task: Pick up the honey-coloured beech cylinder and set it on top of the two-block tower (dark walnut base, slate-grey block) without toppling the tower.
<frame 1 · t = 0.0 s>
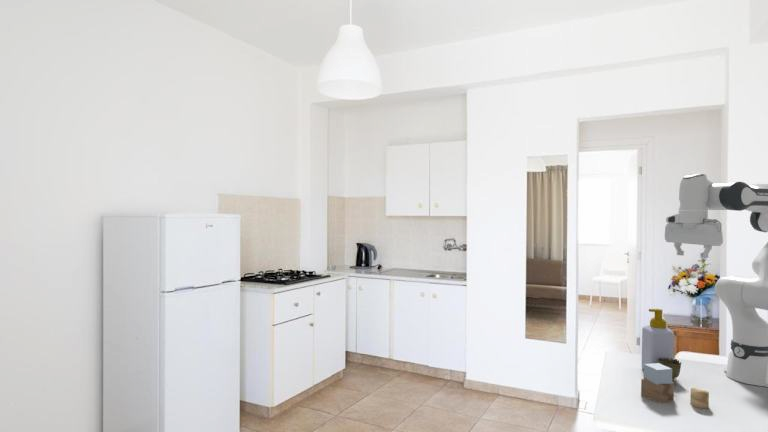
hand: (692, 256, 169), 48 cm above the table, fingers open, 8 cm apart
tower top block: (657, 380, 160), point 6 cm above the table, touching tower base
tower base: (657, 398, 160), on the table, touching tower top block
soap bottle: (657, 372, 185), on the table
cup: (669, 381, 176), on the table
beech cylinder: (699, 405, 154), on the table
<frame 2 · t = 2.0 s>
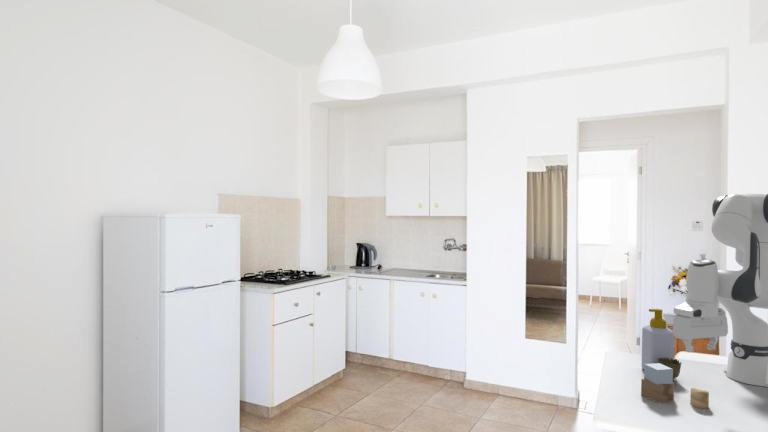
hand: (700, 350, 153), 18 cm above the table, fingers open, 8 cm apart
tower top block: (658, 380, 159), point 6 cm above the table
tower base: (657, 397, 160), on the table
everything else where it was.
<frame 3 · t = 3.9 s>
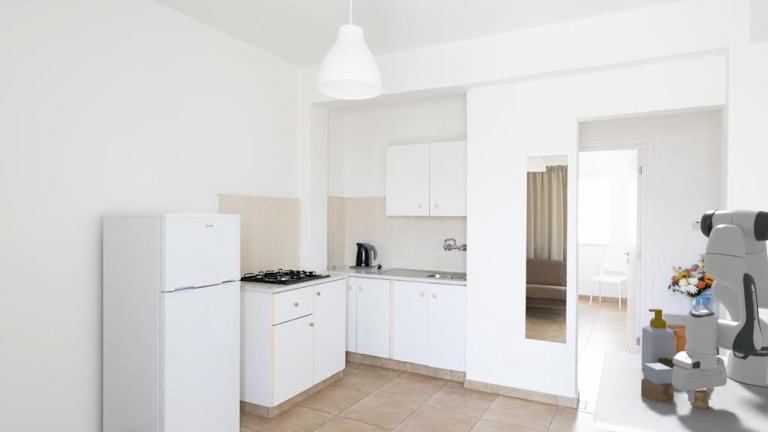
hand: (699, 400, 154), 2 cm above the table, fingers closed on beech cylinder, 5 cm apart
beech cylinder: (699, 405, 154), on the table, touching gripper
everything else where it was.
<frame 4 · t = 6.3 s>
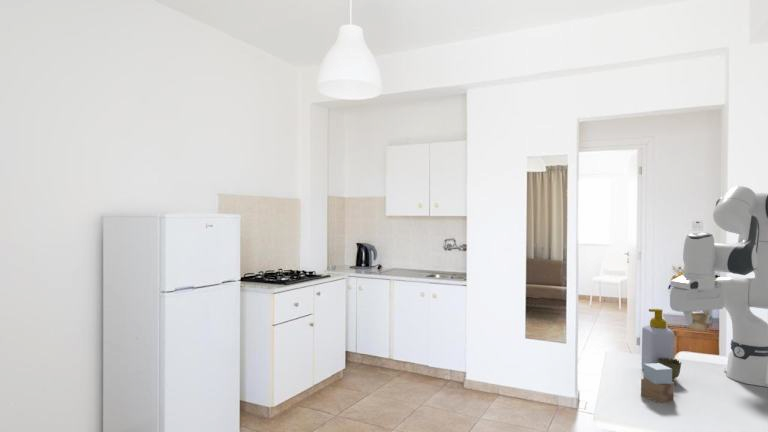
hand: (697, 323, 154), 27 cm above the table, fingers closed on beech cylinder, 5 cm apart
beech cylinder: (697, 328, 154), point 26 cm above the table, touching gripper
everything else where it was.
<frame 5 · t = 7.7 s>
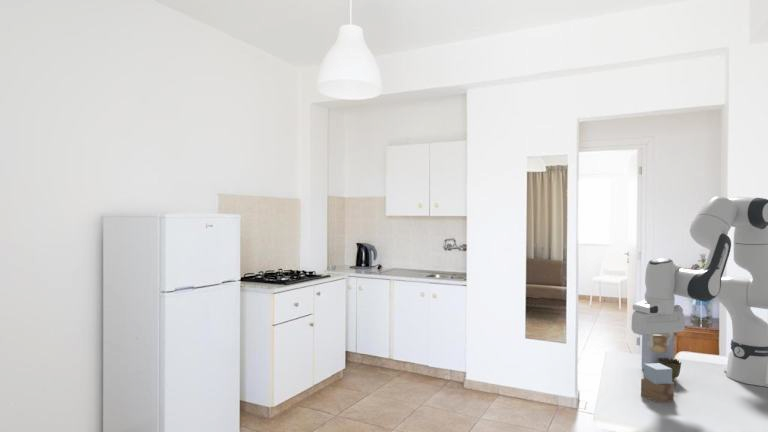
hand: (658, 345, 159), 18 cm above the table, fingers closed on beech cylinder, 5 cm apart
tower top block: (657, 380, 160), point 6 cm above the table, touching tower base
tower base: (657, 397, 160), on the table, touching tower top block
beech cylinder: (658, 350, 159), point 16 cm above the table, touching gripper
everything else where it was.
when the fingers open (14 cm above the table, at t = 8.9 s): beech cylinder drops 1 cm, resting on tower top block.
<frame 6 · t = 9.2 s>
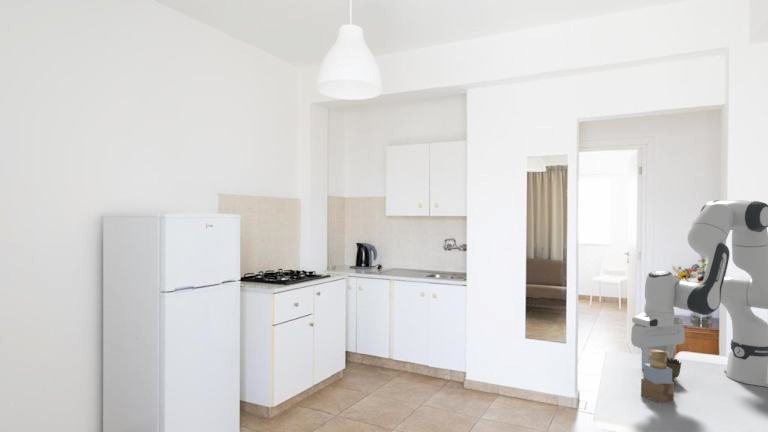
hand: (658, 358, 160), 14 cm above the table, fingers open, 8 cm apart
tower top block: (657, 380, 160), point 6 cm above the table, touching beech cylinder, tower base
beech cylinder: (658, 366, 159), point 11 cm above the table, touching tower top block
everything else where it was.
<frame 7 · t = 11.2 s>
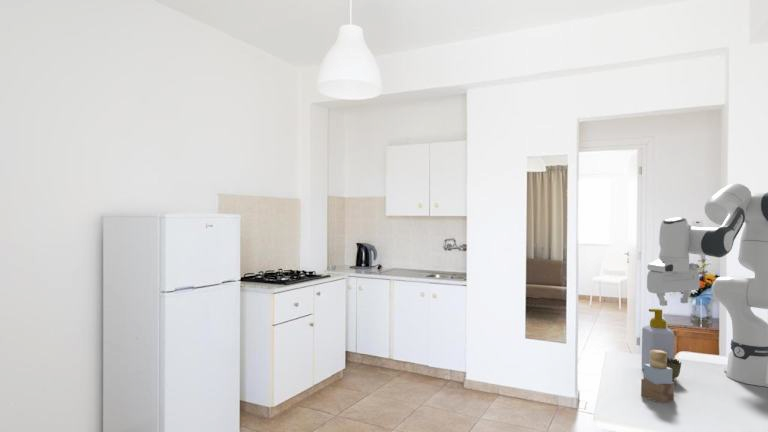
hand: (673, 304, 161), 32 cm above the table, fingers open, 8 cm apart
nothing on the table moved.
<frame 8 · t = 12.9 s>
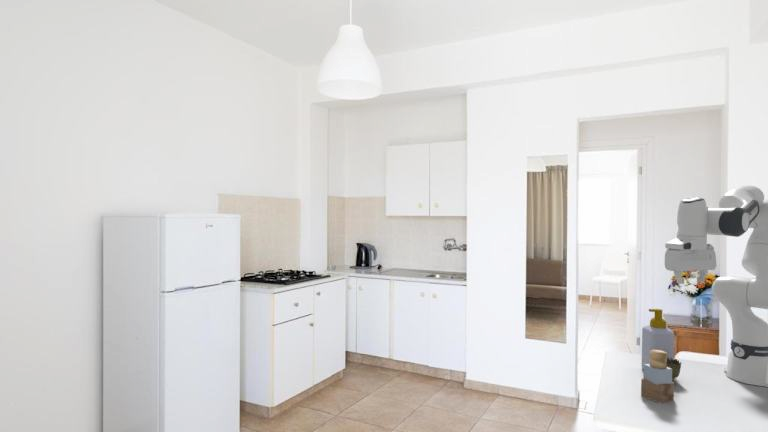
hand: (690, 283, 163), 39 cm above the table, fingers open, 8 cm apart
nothing on the table moved.
at the end: beech cylinder 0.1 cm off-centre on the tower base, point 11.0 cm above the tower base's base; tower top block tilted 0°; tower base moved 0.1 cm from its start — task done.
